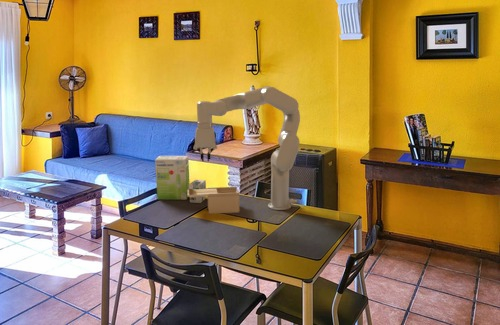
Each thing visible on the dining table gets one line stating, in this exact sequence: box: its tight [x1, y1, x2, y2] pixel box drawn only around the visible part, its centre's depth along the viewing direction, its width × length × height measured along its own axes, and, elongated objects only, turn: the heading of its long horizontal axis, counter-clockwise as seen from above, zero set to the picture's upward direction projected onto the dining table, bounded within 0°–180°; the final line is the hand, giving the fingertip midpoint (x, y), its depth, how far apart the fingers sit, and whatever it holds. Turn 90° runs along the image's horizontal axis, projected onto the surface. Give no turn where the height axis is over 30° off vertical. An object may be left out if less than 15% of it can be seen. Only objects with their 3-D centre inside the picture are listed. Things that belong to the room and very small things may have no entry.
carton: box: [206, 186, 240, 215], centre depth 223 cm, size 16×12×11 cm
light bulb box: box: [189, 179, 207, 204], centre depth 238 cm, size 11×7×11 cm, turn 168°
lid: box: [187, 184, 217, 198], centre depth 220 cm, size 16×10×4 cm, turn 99°
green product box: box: [154, 155, 191, 201], centre depth 241 cm, size 18×10×24 cm, turn 88°
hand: (205, 160), depth 216 cm, fingers closed
